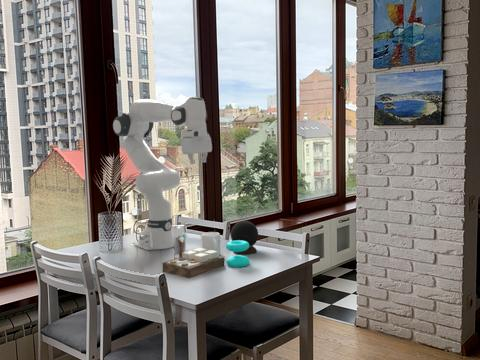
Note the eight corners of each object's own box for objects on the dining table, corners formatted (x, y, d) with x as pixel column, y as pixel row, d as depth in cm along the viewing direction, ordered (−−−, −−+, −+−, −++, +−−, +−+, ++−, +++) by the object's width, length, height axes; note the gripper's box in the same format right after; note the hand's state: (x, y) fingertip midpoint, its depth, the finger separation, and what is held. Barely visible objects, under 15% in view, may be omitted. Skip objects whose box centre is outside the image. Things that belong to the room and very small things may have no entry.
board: (162, 271, 211) (162, 261, 211) (198, 260, 227) (197, 250, 227) (189, 278, 201) (188, 267, 200) (224, 266, 217) (224, 255, 216)
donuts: (253, 242, 216) (235, 246, 210) (254, 264, 217) (236, 269, 211) (239, 238, 224) (221, 242, 218) (240, 260, 225) (222, 264, 219)
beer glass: (181, 261, 227) (180, 228, 225) (169, 259, 231) (168, 227, 229) (191, 257, 233) (189, 225, 231) (179, 255, 237) (178, 224, 235)
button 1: (182, 261, 217) (182, 252, 216) (189, 259, 220) (189, 250, 219) (189, 263, 214) (189, 254, 213) (197, 261, 217) (196, 252, 217)
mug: (225, 258, 229) (224, 236, 228) (207, 260, 227) (207, 238, 226) (217, 252, 241) (216, 231, 240) (200, 254, 238) (199, 233, 237)
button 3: (192, 258, 221) (192, 249, 221) (199, 256, 224) (199, 247, 224) (199, 260, 218) (199, 251, 218) (206, 258, 222) (206, 249, 221)
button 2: (194, 264, 212) (193, 255, 212) (201, 261, 215) (200, 252, 215) (201, 265, 209) (201, 256, 209) (208, 263, 213) (208, 254, 212)
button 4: (203, 261, 217) (203, 252, 216) (211, 258, 220) (210, 249, 219) (211, 262, 214) (211, 253, 213) (218, 260, 217) (218, 251, 217)
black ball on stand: (263, 253, 237) (262, 221, 235) (236, 256, 232) (235, 224, 230) (252, 247, 249) (251, 217, 247) (227, 250, 244) (226, 219, 243)
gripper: (203, 132, 238) (204, 161, 240) (178, 133, 220) (179, 165, 222) (214, 131, 235) (215, 161, 237) (190, 133, 217) (191, 165, 219)
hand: (198, 163), depth 229 cm, fingers open, 8 cm apart
